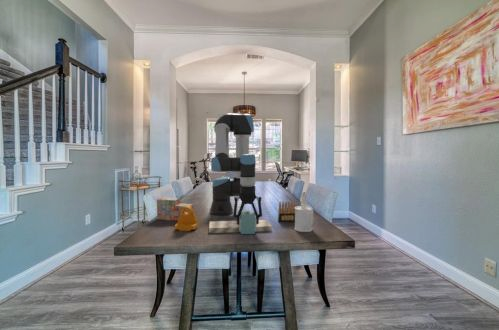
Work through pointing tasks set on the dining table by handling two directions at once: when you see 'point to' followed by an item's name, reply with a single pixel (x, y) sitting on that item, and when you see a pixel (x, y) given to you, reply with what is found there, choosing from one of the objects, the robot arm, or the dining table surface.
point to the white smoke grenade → (303, 216)
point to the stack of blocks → (170, 208)
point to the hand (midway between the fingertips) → (247, 230)
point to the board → (235, 226)
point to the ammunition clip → (288, 215)
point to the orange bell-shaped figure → (187, 219)
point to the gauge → (247, 222)
